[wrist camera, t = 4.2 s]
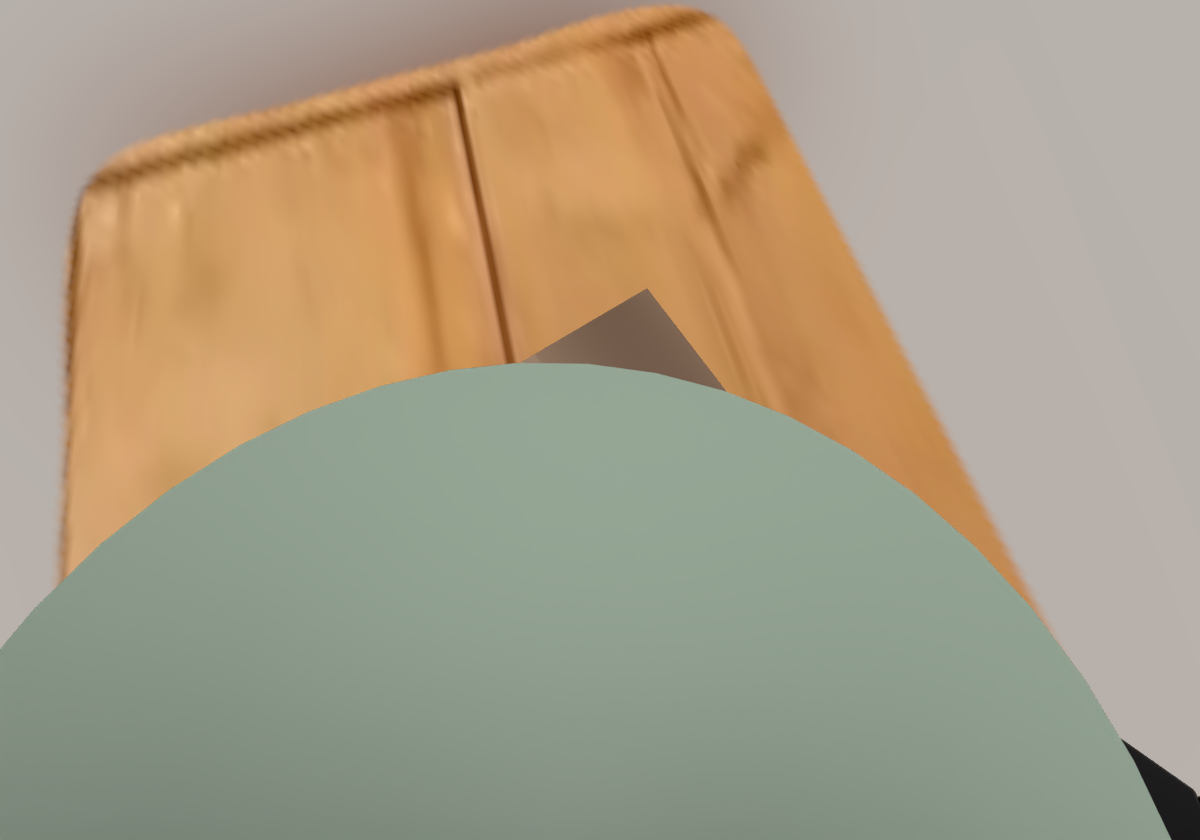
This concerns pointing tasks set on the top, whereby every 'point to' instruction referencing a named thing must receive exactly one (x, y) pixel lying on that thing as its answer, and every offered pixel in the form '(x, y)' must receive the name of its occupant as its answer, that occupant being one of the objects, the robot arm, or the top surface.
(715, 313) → the top surface
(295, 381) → the top surface
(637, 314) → the pocket block
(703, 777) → the peg
